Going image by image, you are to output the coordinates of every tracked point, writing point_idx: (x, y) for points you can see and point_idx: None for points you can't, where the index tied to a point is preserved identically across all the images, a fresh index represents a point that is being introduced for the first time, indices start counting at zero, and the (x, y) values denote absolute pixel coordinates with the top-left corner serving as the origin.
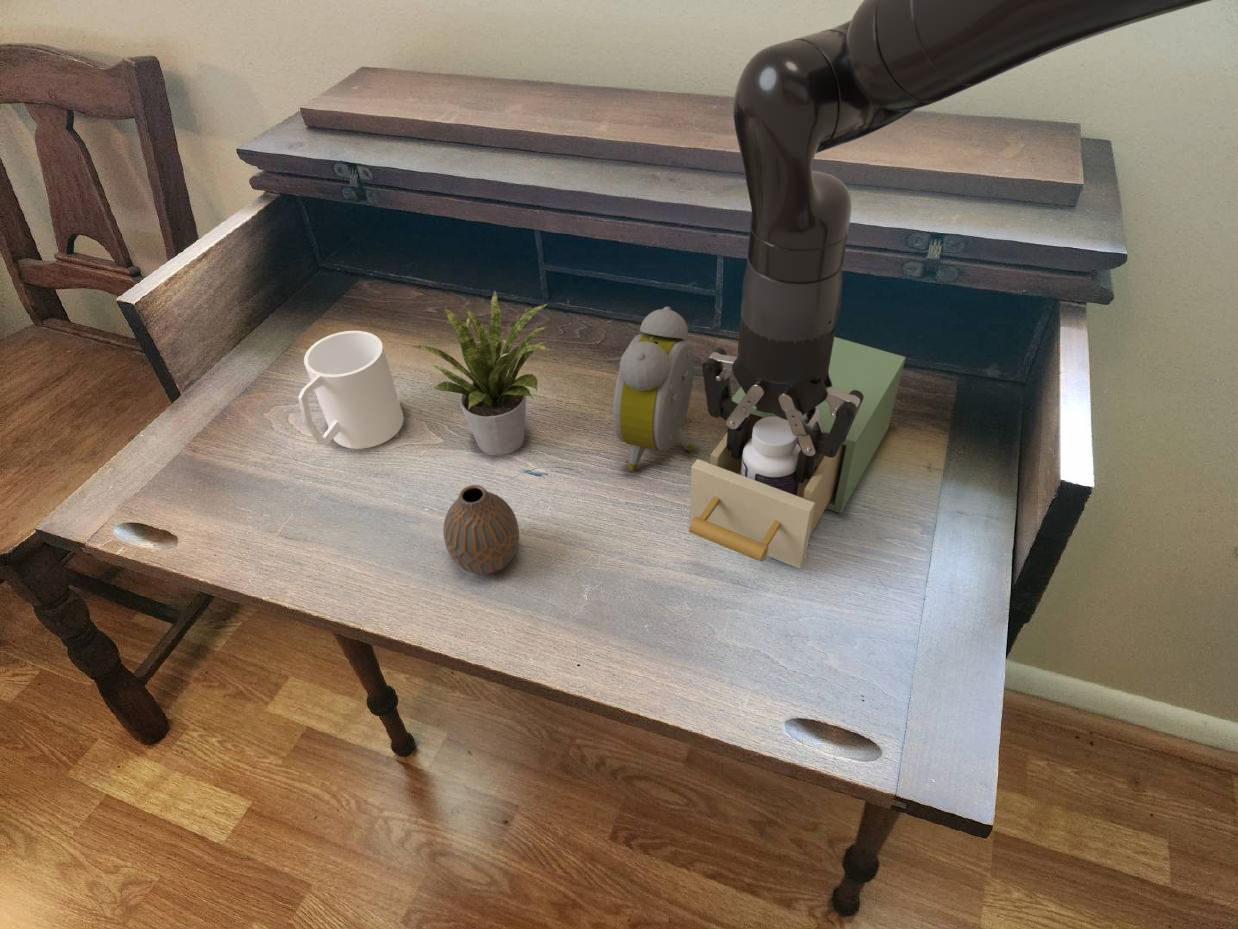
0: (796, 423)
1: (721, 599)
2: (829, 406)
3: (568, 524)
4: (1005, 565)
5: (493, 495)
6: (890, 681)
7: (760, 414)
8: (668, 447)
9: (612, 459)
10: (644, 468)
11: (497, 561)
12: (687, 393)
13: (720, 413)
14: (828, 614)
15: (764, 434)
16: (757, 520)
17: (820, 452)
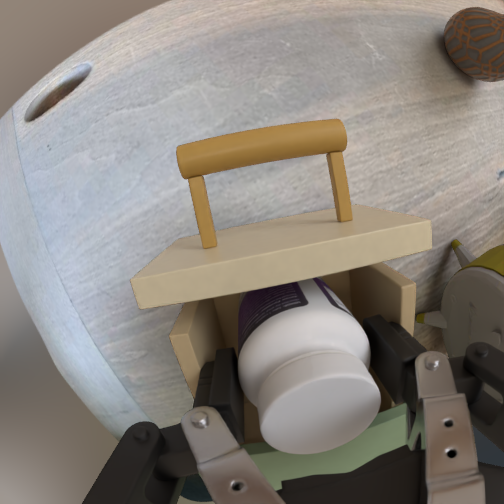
0: (236, 494)
1: (238, 129)
2: (277, 482)
3: (452, 125)
4: (64, 375)
5: None
6: (40, 184)
7: (375, 418)
8: (447, 287)
9: (471, 242)
10: (444, 256)
11: (450, 22)
12: None
13: (469, 361)
14: (118, 209)
15: (342, 397)
16: (253, 235)
17: (178, 425)
